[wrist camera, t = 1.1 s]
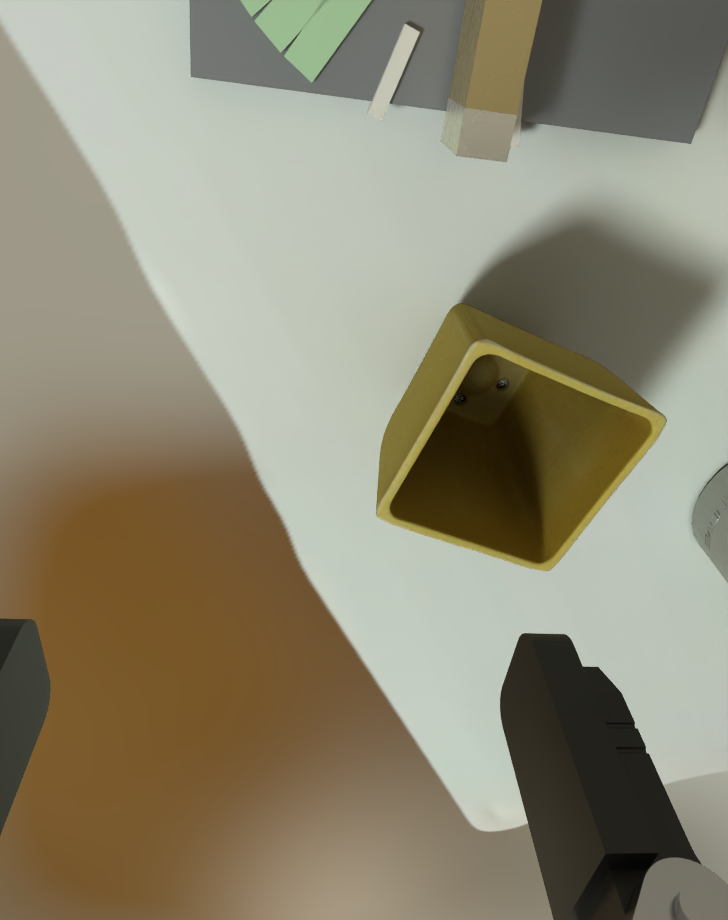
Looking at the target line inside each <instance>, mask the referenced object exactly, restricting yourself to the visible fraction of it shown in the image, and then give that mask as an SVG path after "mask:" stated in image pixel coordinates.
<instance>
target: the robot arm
mask: <svg viewBox="0 0 728 920" xmlns="http://www.w3.org/2000/svg"><path fill="white" fill-rule="evenodd" d="M692 529H693V534H694V536H695V538H696V540H697V542H698V544H699V545H700V546H701V548H702V549H703V550H704V552H705V553H706V554H707V556H708V557H709V558H710V560H711V561H712V562H713V564H714V565H715V567H716V568H717V569H718V571H719V572H720V573H721V575H722V576H723V577H724V579H725V580H726V581H727V583H728V465H727V466H726V467H724V468H723V469H722V470H721V471H720V472H718V473H717V474H716V475H715V477H714V478H713V479H712V480H711V481H710V482H709V483H708V484H707V485H706V487H705V488H704V490H703V491H702V493H701V495H700V496H699V498H698V500H697V502H696V505H695V508H694V510H693V516H692ZM49 699H50V678H49V674H48V670H47V666H46V661H45V657H44V654H43V649H42V645H41V641H40V637H39V632H38V628H37V625H36V623H35V621H34V620H32V619H0V835H1V832H2V829H3V827H4V824H5V822H6V819H7V816H8V814H9V811H10V809H11V806H12V804H13V801H14V798H15V796H16V793H17V790H18V788H19V785H20V783H21V780H22V778H23V775H24V772H25V770H26V767H27V765H28V762H29V759H30V757H31V754H32V751H33V749H34V746H35V744H36V741H37V738H38V736H39V733H40V731H41V728H42V726H43V723H44V720H45V717H46V713H47V710H48V705H49ZM500 712H501V720H502V725H503V729H504V733H505V737H506V741H507V745H508V748H509V752H510V756H511V760H512V764H513V767H514V771H515V775H516V779H517V782H518V786H519V790H520V794H521V798H522V801H523V805H524V809H525V813H526V817H527V820H528V824H529V828H530V832H531V835H532V839H533V843H534V847H535V851H536V854H537V858H538V862H539V866H540V869H541V873H542V877H543V881H544V885H545V888H546V892H547V896H548V900H549V903H550V907H551V911H552V915H553V919H554V920H728V884H727V883H726V882H725V881H724V880H722V879H721V878H720V877H719V876H718V875H717V874H715V873H714V872H712V871H711V870H709V869H708V868H706V867H705V866H703V865H702V864H701V863H700V861H699V860H698V858H697V857H696V855H695V853H694V851H693V850H692V847H691V846H690V843H689V841H688V839H687V837H686V835H685V832H684V830H683V828H682V826H681V824H680V822H679V819H678V817H677V815H676V813H675V810H674V809H673V806H672V804H671V802H670V799H669V797H668V795H667V793H666V791H665V788H664V786H663V784H662V782H661V779H660V777H659V775H658V773H657V771H656V768H655V766H654V764H653V762H652V759H651V757H650V755H649V754H647V753H646V746H645V744H644V742H643V740H642V737H641V735H640V733H639V731H638V729H636V728H635V725H634V724H635V722H634V720H633V718H632V715H631V713H630V711H629V709H628V706H627V704H626V702H625V700H624V698H623V695H622V693H621V692H620V691H619V690H618V689H617V688H616V686H615V685H614V684H613V683H612V682H611V681H610V680H609V679H608V677H607V676H606V675H605V674H604V673H603V672H602V671H601V670H600V669H599V667H583V666H582V664H581V662H580V659H579V657H578V654H577V652H576V649H575V647H574V645H573V643H572V641H571V639H570V638H569V637H568V636H567V635H565V634H531V633H524V634H522V635H521V636H520V637H519V640H518V642H517V645H516V648H515V651H514V654H513V657H512V660H511V663H510V666H509V669H508V672H507V675H506V678H505V680H504V683H503V686H502V690H501V697H500Z"/></svg>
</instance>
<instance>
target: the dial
mask: <svg viewBox="0 0 728 920" xmlns="http://www.w3.org/2000/svg"><path fill="white" fill-rule="evenodd" d="M541 4H542V0H466V2H465V8H464V14H463V20H462V25H461V31H460V37H459V43H458V49H457V54H456V60H455V66H454V72H453V77H452V83H451V89H450V95H449V98H448V103H447V109H446V114H445V120H444V126H443V132H442V138H441V142H442V143H443V144H444V145H445V146H446V147H448V148H449V149H450V150H451V151H452V152H453V153H454V154H455V155H456V156H462V157H470V158H478V159H486V160H494V161H502V162H507V158H508V153H509V149H510V145H511V140H512V136H513V131H514V127H515V123H516V118H517V110H518V106H519V102H520V97H521V93H522V88H523V84H524V79H525V75H526V70H527V66H528V62H529V57H530V53H531V48H532V44H533V39H534V35H535V31H536V26H537V22H538V17H539V13H540V8H541Z"/></svg>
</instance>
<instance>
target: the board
mask: <svg viewBox="0 0 728 920" xmlns="http://www.w3.org/2000/svg"><path fill="white" fill-rule="evenodd" d="M465 2H466V0H190V50H191V77H196V78H203V79H211V80H218V81H226V82H233V83H241V84H248V85H256V86H263V87H271V88H278V89H286V90H293V91H301V92H308V93H315V94H323V95H330V96H338V97H345V98H353V99H360V100H368V101H372V102H371V104H370V107H369V109H368V112H367V114H368V115H370V116H371V117H373V118H375V119H377V120H379V121H382V119H383V117H384V114H385V112H386V110H387V107H388V105H389V103H390V104H398V105H405V106H412V107H420V108H427V109H435V110H442V111H446V109H447V103H448V98H449V95H450V89H451V83H452V77H453V72H454V66H455V60H456V54H457V49H458V43H459V37H460V31H461V25H462V20H463V14H464V8H465ZM727 43H728V0H542V4H541V8H540V13H539V17H538V22H537V26H536V31H535V35H534V39H533V44H532V48H531V53H530V57H529V62H528V66H527V70H526V75H525V79H524V84H523V88H522V93H521V97H520V102H519V106H518V110H517V118H516V123H515V127H514V131H513V136H512V140H511V145H510V147H519V143H520V130H521V121H524V122H532V123H539V124H547V125H554V126H562V127H569V128H577V129H584V130H592V131H599V132H607V133H614V134H621V135H629V136H636V137H644V138H651V139H659V140H666V141H674V142H681V143H689V144H691V142H692V139H693V137H694V134H695V131H696V128H697V126H698V123H699V120H700V117H701V115H702V112H703V109H704V106H705V104H706V101H707V98H708V95H709V93H710V90H711V87H712V84H713V82H714V79H715V76H716V73H717V71H718V68H719V65H720V62H721V60H722V57H723V54H724V51H725V49H726V46H727Z"/></svg>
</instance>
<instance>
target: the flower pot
mask: <svg viewBox="0 0 728 920" xmlns="http://www.w3.org/2000/svg"><path fill="white" fill-rule="evenodd" d="M501 379H506V380H507V385H506V386H505V387H504V388H498V387H497V382H498V381H499V380H501ZM459 394H462V395H464V396H465V399H464V401H463V402H461V403H456V402H455V401H454V398H455V396H456V395H459ZM666 422H667V419H666V417H665V416H664V415H663V414H662V413H660V412H659V411H658V410H656V409H655V408H654V407H653V406H652V405H650V404H649V403H648V402H647V401H646V400H644V399H643V398H642V397H641V396H640V395H638V394H637V393H636V392H635V391H634V390H632V389H631V388H630V387H629V386H627V385H626V384H625V383H624V382H622V381H621V380H620V379H619V378H618V377H616V376H615V375H614V374H613V373H611V372H610V371H609V370H607V369H606V368H604V367H603V366H601V365H600V364H598V363H596V362H594V361H593V360H591V359H589V358H586V357H584V356H582V355H580V354H577V353H575V352H572V351H570V350H568V349H565V348H563V347H560V346H558V345H556V344H553V343H551V342H549V341H546V340H544V339H542V338H539V337H537V336H535V335H533V334H530V333H528V332H526V331H524V330H521V329H519V328H517V327H515V326H512V325H510V324H508V323H506V322H504V321H501V320H499V319H497V318H495V317H492V316H490V315H488V314H486V313H484V312H482V311H480V310H477V309H475V308H473V307H471V306H469V305H465V304H457V305H455V306H453V307H452V308H451V310H450V311H449V313H448V314H447V316H446V318H445V320H444V322H443V324H442V325H441V327H440V329H439V331H438V333H437V335H436V337H435V339H434V340H433V342H432V344H431V346H430V348H429V350H428V352H427V353H426V355H425V357H424V359H423V361H422V363H421V364H420V366H419V368H418V370H417V372H416V374H415V376H414V377H413V379H412V381H411V383H410V385H409V386H408V388H407V390H406V392H405V394H404V395H403V397H402V399H401V401H400V402H399V404H398V406H397V408H396V409H395V411H394V413H393V415H392V417H391V419H390V421H389V423H388V425H387V428H386V430H385V433H384V437H383V440H382V445H381V451H380V463H379V477H378V491H377V506H376V516H377V517H378V518H380V519H381V520H383V521H385V522H387V523H390V524H392V525H396V526H399V527H402V528H404V529H407V530H410V531H413V532H416V533H419V534H422V535H425V536H429V537H432V538H436V539H439V540H442V541H445V542H448V543H451V544H454V545H457V546H461V547H464V548H467V549H471V550H474V551H477V552H480V553H483V554H486V555H489V556H492V557H495V558H499V559H502V560H505V561H508V562H511V563H514V564H517V565H520V566H523V567H527V568H531V569H536V570H542V571H549V570H551V569H552V568H553V567H554V566H555V565H556V564H557V563H558V562H559V561H560V560H561V558H562V557H563V556H564V555H565V554H566V552H567V551H568V550H569V549H570V547H571V546H572V545H573V543H574V542H575V541H576V539H577V538H578V537H579V536H580V534H581V533H582V532H583V530H584V529H585V528H586V527H587V526H588V524H589V523H590V522H591V520H592V519H593V518H594V516H595V515H596V514H597V513H598V512H599V510H600V509H601V508H602V506H603V505H604V504H605V503H606V501H607V500H608V499H609V498H610V496H611V495H612V494H613V493H614V492H615V490H616V489H617V488H618V487H619V485H620V484H621V483H622V482H623V480H624V479H625V478H626V477H627V476H628V475H629V474H630V472H631V471H632V470H633V469H634V467H635V466H636V465H637V464H638V462H639V461H640V460H641V459H642V458H643V456H644V455H645V454H646V453H647V451H648V450H649V449H650V448H651V446H652V445H653V444H654V443H655V441H656V440H657V439H658V437H659V435H660V434H661V432H662V430H663V428H664V426H665V424H666Z"/></svg>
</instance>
